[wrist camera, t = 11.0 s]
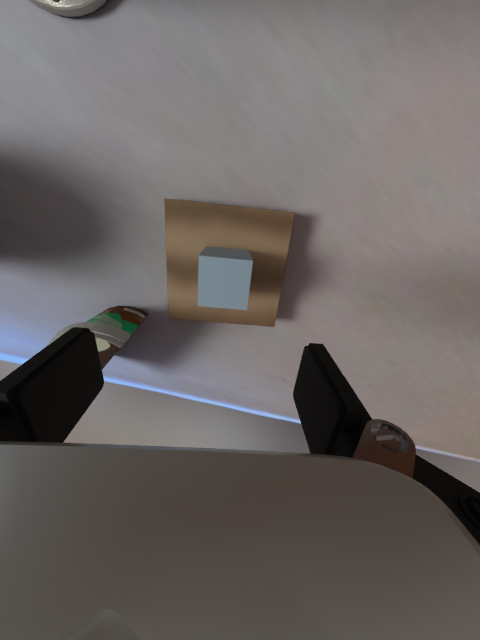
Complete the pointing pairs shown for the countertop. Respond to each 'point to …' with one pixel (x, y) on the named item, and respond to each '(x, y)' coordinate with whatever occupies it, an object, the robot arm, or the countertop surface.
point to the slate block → (224, 278)
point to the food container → (110, 329)
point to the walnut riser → (225, 232)
